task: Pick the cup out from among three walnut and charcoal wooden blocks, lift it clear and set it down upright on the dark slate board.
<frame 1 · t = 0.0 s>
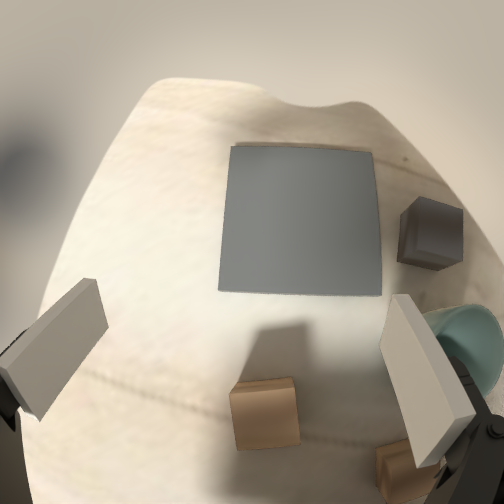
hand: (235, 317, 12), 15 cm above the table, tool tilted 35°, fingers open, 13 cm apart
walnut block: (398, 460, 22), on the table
cup: (412, 351, 25), on the table
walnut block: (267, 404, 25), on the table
charcoal block front: (419, 243, 28), on the table
slate board: (302, 217, 29), on the table
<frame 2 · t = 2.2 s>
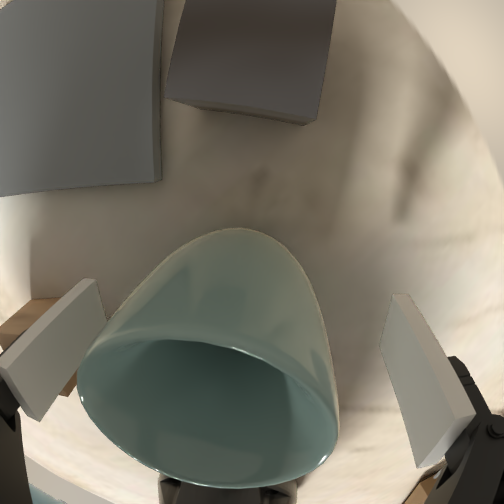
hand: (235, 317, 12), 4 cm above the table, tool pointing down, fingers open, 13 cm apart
cup: (241, 278, 17), on the table
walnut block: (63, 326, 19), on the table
charcoal block front: (260, 68, 12), on the table
photo frame: (440, 489, 28), on the table
slate board: (52, 71, 13), on the table
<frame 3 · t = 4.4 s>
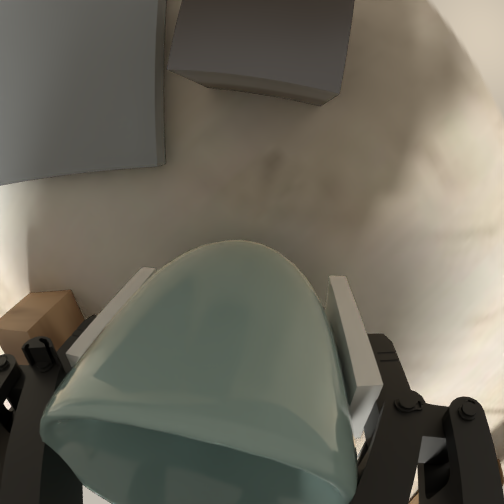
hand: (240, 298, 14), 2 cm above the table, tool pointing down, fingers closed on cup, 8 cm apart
cup: (241, 295, 14), point 1 cm above the table, touching gripper
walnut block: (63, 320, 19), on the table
charcoal block front: (273, 44, 11), on the table
slate board: (50, 53, 11), on the table
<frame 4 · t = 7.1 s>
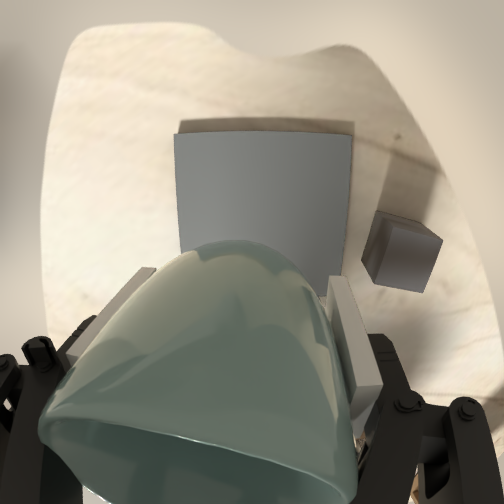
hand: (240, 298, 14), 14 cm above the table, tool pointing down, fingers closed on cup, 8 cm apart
cup: (241, 295, 14), point 14 cm above the table, touching gripper
charcoal block front: (391, 241, 27), on the table
slate board: (261, 215, 27), on the table
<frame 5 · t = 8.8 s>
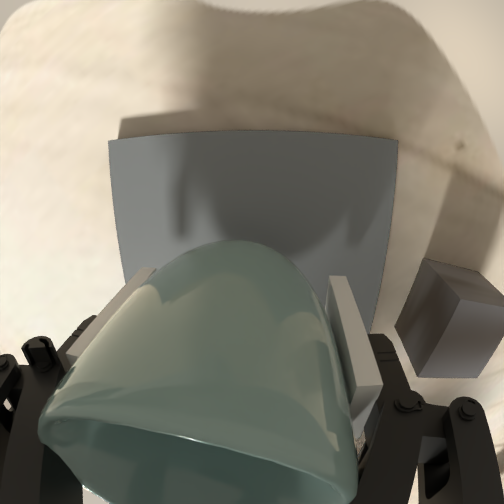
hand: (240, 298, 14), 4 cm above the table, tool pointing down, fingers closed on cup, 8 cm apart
cup: (241, 295, 14), point 3 cm above the table, touching gripper
charcoal block front: (438, 298, 17), on the table
slate board: (248, 266, 17), on the table
when the fingers open (2 cm above the table, at t = 10.0 s): cup stays where it is, resting on slate board.
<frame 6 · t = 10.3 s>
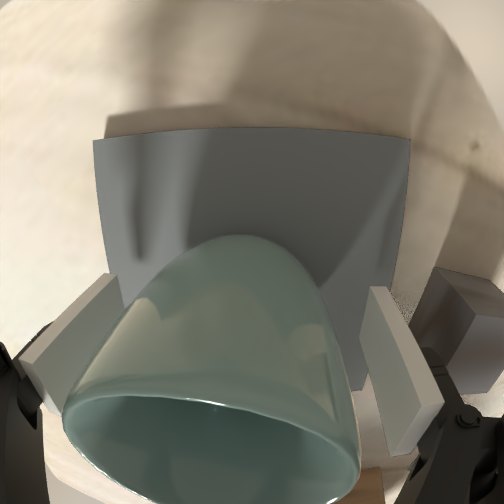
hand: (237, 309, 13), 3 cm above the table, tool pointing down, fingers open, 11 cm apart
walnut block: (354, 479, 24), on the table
cup: (243, 287, 15), point 1 cm above the table, touching slate board
charcoal block front: (448, 309, 16), on the table
slate board: (245, 276, 16), on the table
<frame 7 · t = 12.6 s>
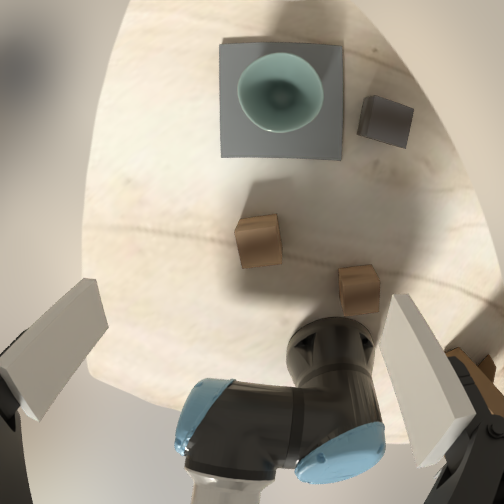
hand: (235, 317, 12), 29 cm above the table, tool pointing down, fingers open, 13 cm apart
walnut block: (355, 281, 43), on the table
cup: (281, 99, 33), point 1 cm above the table, touching slate board
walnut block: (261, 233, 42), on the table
charcoal block front: (378, 121, 34), on the table
photo frame: (457, 378, 51), on the table
slate board: (281, 99, 34), on the table
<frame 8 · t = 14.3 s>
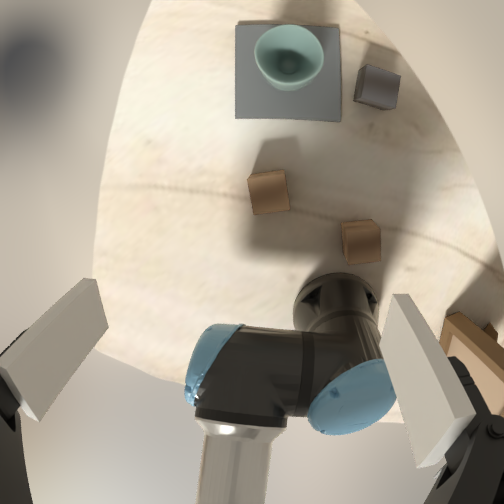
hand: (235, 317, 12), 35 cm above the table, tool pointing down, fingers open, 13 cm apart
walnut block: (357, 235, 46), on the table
cup: (288, 70, 37), point 1 cm above the table, touching slate board
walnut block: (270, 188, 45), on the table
charcoal block front: (371, 90, 37), on the table
photo frame: (459, 348, 53), on the table
slate board: (288, 70, 38), on the table
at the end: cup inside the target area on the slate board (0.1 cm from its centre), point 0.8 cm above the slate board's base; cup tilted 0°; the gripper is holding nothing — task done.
